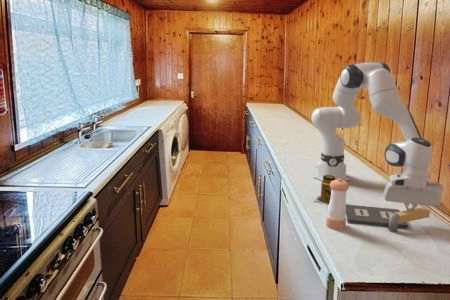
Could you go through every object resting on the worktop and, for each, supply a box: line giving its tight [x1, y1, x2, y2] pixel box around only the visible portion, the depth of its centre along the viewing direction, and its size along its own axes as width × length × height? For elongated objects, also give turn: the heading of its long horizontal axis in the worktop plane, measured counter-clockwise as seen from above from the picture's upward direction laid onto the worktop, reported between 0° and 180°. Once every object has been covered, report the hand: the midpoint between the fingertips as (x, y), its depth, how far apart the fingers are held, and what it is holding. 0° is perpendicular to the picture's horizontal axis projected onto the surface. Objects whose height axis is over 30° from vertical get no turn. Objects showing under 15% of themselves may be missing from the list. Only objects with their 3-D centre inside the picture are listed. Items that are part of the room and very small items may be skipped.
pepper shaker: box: [325, 179, 350, 231], centre depth 144 cm, size 7×7×19 cm
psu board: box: [345, 204, 409, 230], centre depth 154 cm, size 16×22×2 cm
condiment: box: [314, 175, 335, 206], centre depth 170 cm, size 7×8×12 cm
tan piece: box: [387, 207, 431, 232], centre depth 144 cm, size 18×3×6 cm, turn 113°
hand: (409, 213), depth 148 cm, fingers closed
